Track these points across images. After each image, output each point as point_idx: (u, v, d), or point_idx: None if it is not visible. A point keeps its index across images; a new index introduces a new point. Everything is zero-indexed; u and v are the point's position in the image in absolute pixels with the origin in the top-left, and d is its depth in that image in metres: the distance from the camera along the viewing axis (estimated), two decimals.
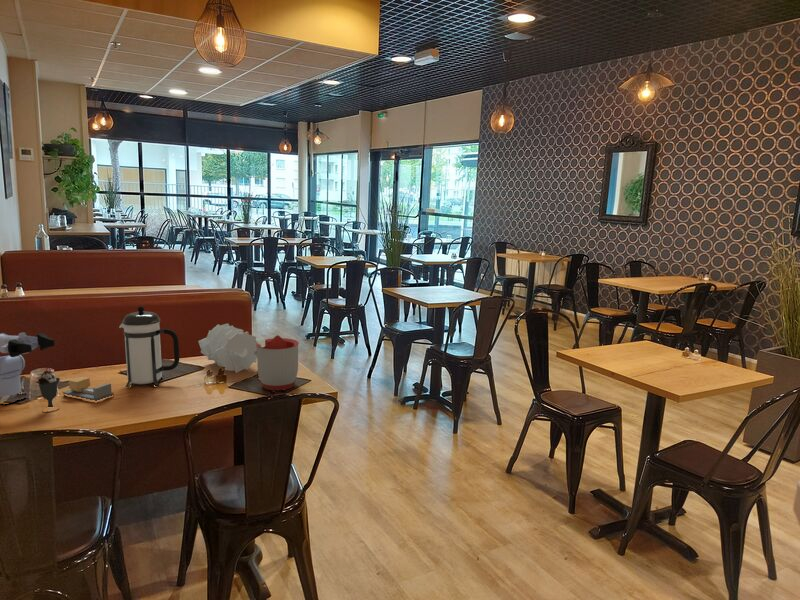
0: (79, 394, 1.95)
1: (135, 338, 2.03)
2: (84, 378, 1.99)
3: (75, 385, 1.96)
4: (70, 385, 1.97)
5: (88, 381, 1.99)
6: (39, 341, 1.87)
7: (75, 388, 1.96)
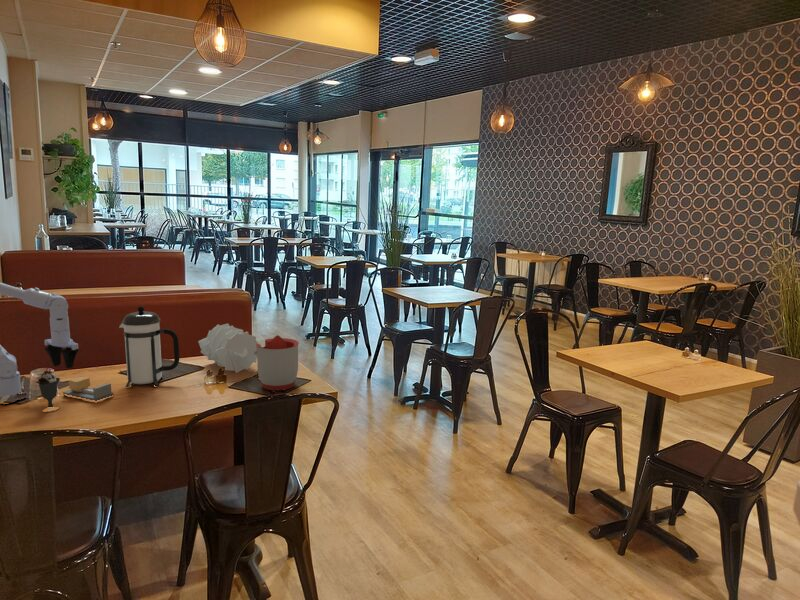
0: (79, 394, 1.95)
1: (135, 338, 2.03)
2: (84, 378, 1.99)
3: (75, 385, 1.96)
4: (70, 385, 1.97)
5: (88, 381, 1.99)
6: (56, 348, 2.00)
7: (75, 388, 1.96)
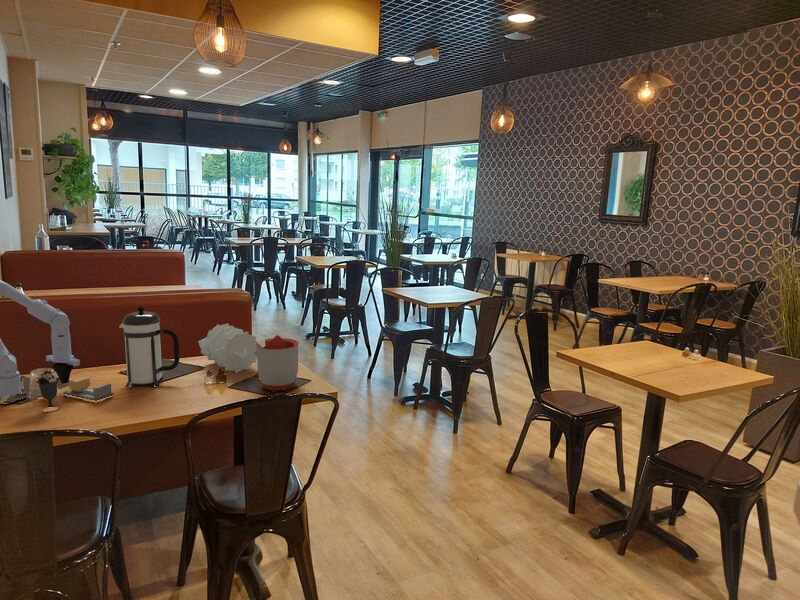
0: (79, 394, 1.95)
1: (135, 338, 2.03)
2: (84, 378, 1.99)
3: (75, 385, 1.96)
4: (70, 385, 1.97)
5: (88, 381, 1.99)
6: None
7: (75, 388, 1.96)
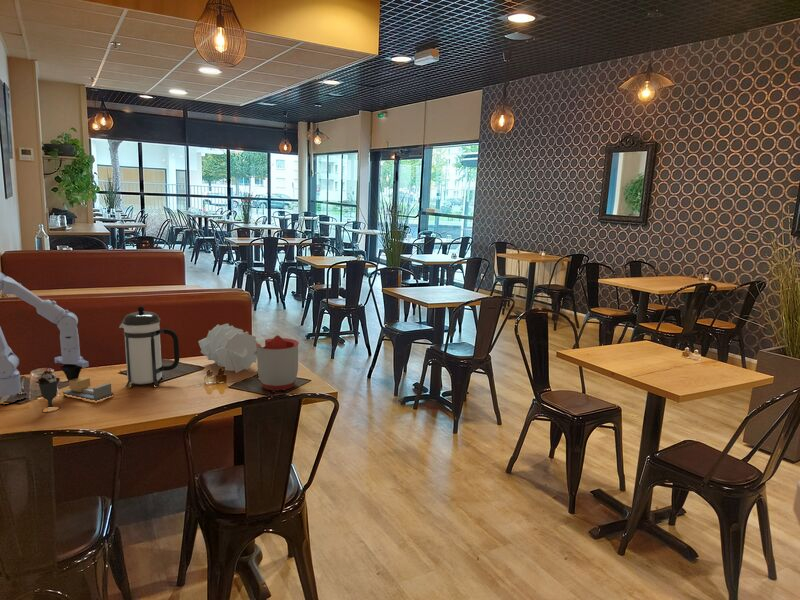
0: (79, 394, 1.95)
1: (135, 338, 2.03)
2: (84, 378, 1.99)
3: (75, 385, 1.96)
4: (70, 385, 1.96)
5: (88, 381, 1.99)
6: None
7: (75, 388, 1.96)
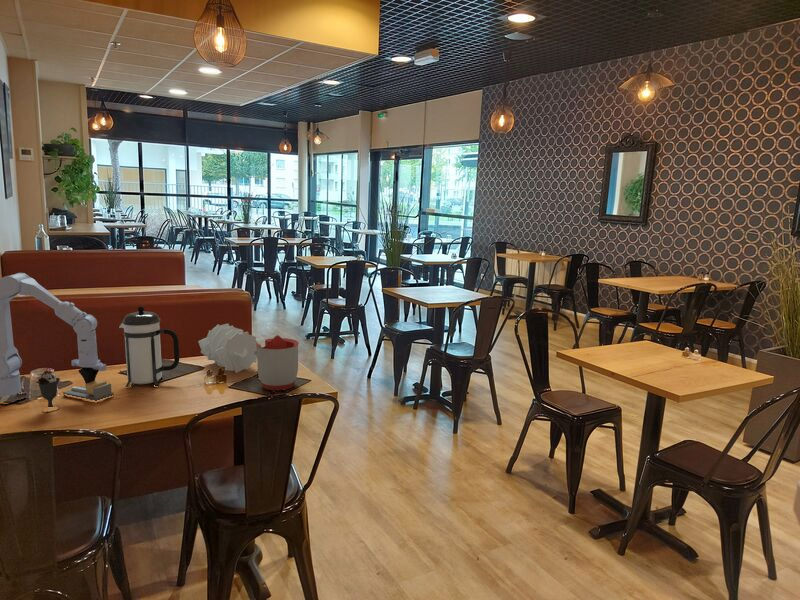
0: (79, 394, 1.95)
1: (135, 338, 2.03)
2: (101, 382, 1.96)
3: (92, 389, 1.93)
4: (87, 388, 1.94)
5: None
6: None
7: (92, 391, 1.93)
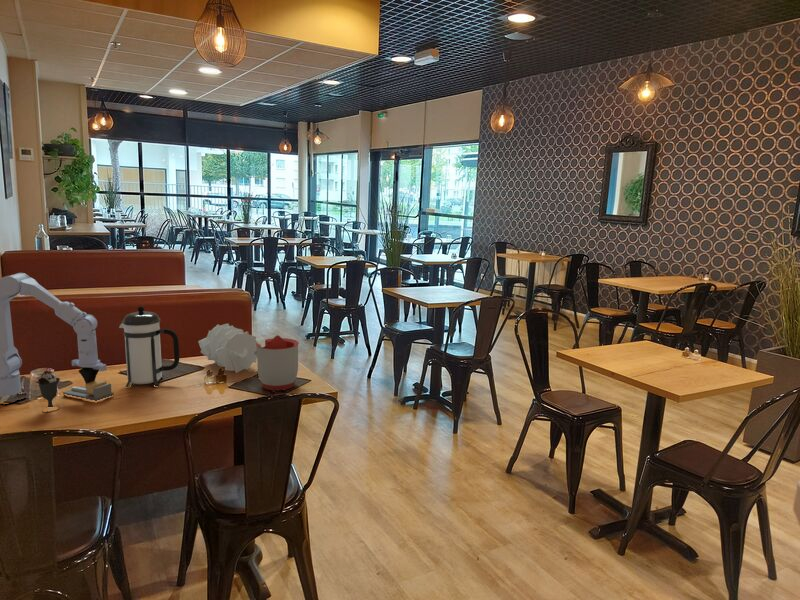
0: (79, 394, 1.95)
1: (135, 338, 2.03)
2: (101, 382, 1.96)
3: (92, 389, 1.93)
4: (87, 388, 1.94)
5: None
6: None
7: (92, 391, 1.93)
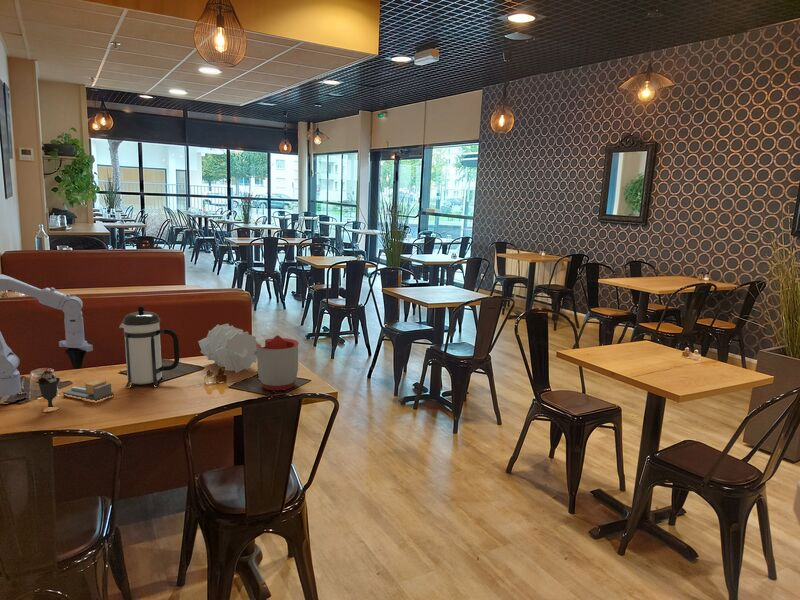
0: (79, 394, 1.95)
1: (135, 338, 2.03)
2: (100, 381, 1.96)
3: (91, 389, 1.93)
4: (86, 388, 1.94)
5: None
6: None
7: (92, 391, 1.93)
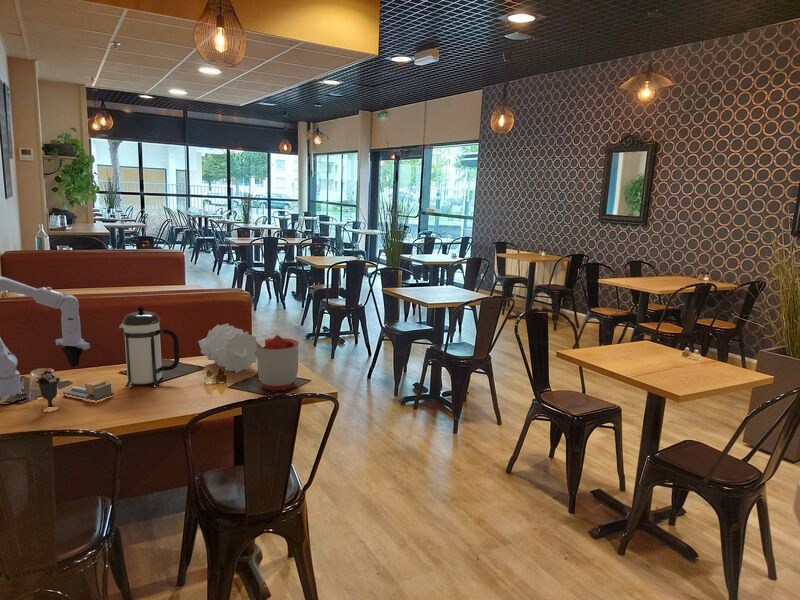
0: (79, 394, 1.95)
1: (135, 338, 2.03)
2: (100, 381, 1.96)
3: (91, 389, 1.93)
4: (86, 388, 1.94)
5: None
6: None
7: (92, 391, 1.93)
